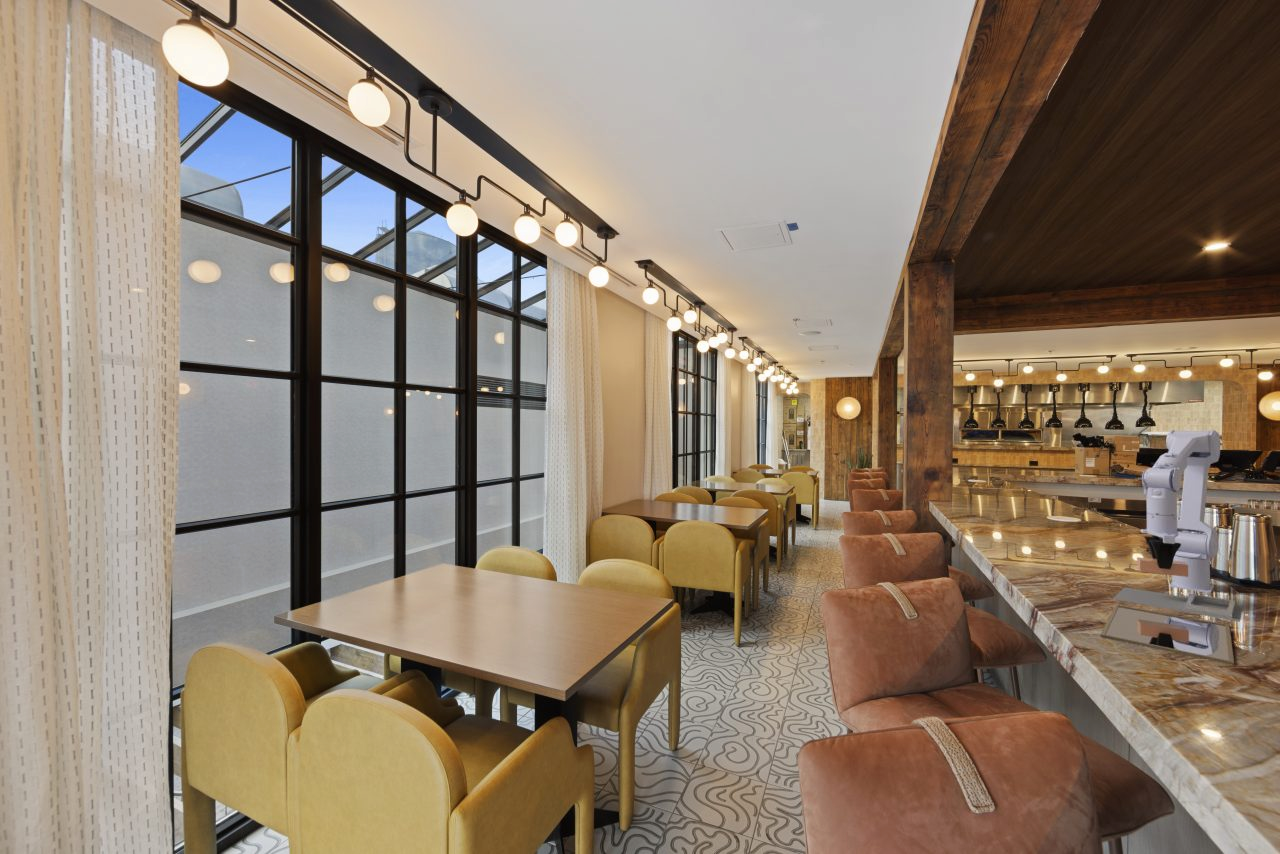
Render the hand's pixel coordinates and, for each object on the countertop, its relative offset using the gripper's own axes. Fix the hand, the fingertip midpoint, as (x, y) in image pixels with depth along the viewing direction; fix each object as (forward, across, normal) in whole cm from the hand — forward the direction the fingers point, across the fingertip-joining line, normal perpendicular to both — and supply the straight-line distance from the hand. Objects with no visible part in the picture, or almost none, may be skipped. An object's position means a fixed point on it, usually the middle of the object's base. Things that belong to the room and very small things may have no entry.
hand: (1162, 566), depth 139 cm
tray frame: (+9, +4, +8) cm, 12 cm away
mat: (+9, +2, +2) cm, 9 cm away
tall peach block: (+2, 0, 0) cm, 2 cm away
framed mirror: (+9, +29, -5) cm, 31 cm away
